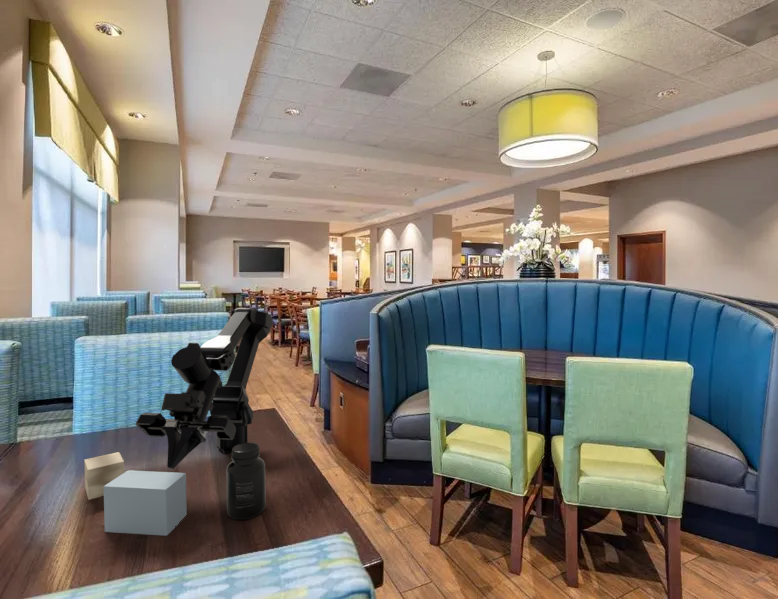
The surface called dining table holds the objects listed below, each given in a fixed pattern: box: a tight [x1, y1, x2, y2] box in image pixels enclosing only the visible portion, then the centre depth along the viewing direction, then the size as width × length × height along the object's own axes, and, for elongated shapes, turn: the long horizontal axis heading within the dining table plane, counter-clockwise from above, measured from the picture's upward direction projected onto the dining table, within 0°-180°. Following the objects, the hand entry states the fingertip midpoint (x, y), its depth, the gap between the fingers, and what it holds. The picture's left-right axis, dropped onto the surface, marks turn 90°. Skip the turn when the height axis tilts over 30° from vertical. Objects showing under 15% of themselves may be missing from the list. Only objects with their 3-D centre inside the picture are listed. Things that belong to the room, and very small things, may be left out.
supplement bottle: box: [225, 442, 267, 521], centre depth 79 cm, size 7×7×12 cm
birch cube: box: [84, 451, 125, 501], centre depth 86 cm, size 6×6×6 cm
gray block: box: [103, 469, 187, 537], centre depth 74 cm, size 6×11×8 cm, turn 85°
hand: (170, 468), depth 81 cm, fingers closed
